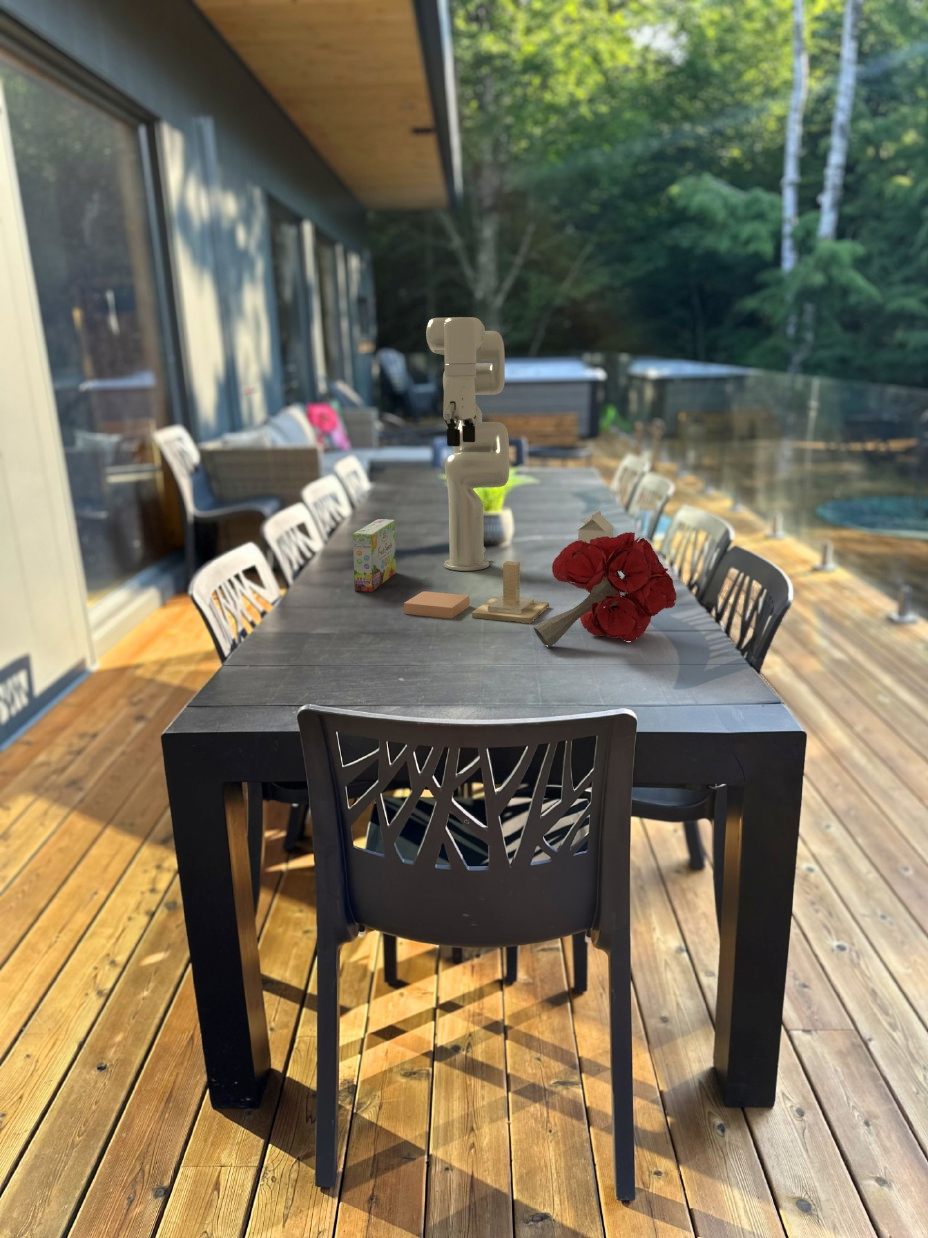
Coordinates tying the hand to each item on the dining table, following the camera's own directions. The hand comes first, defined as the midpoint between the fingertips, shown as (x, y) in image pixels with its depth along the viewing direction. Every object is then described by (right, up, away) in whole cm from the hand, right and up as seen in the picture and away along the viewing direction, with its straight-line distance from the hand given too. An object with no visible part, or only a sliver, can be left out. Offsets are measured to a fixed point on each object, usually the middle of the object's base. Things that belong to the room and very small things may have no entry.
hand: (461, 444), depth 221 cm
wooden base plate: (+12, -41, -11) cm, 44 cm away
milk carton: (+34, -34, +11) cm, 50 cm away
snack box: (-23, -33, +18) cm, 44 cm away
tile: (-4, -38, -4) cm, 39 cm away
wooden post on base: (+12, -40, -12) cm, 43 cm away
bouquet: (+29, -47, -32) cm, 64 cm away
